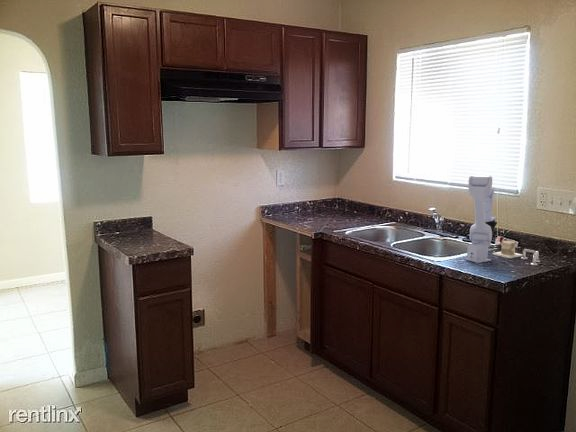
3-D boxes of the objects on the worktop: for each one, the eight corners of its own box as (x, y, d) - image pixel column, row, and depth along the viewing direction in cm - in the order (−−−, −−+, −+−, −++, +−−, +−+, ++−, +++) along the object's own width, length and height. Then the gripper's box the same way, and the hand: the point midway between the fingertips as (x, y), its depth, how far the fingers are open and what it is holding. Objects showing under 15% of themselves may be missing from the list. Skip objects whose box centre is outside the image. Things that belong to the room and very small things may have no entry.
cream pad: (508, 258, 253) (509, 256, 253) (492, 254, 262) (492, 252, 262) (522, 256, 258) (522, 254, 258) (505, 252, 267) (505, 250, 267)
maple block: (508, 255, 257) (509, 243, 256) (501, 253, 261) (501, 241, 260) (514, 254, 259) (515, 242, 258) (507, 252, 263) (507, 241, 262)
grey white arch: (534, 265, 239) (535, 255, 238) (511, 259, 250) (511, 249, 250) (547, 263, 243) (547, 252, 242) (523, 257, 255) (524, 247, 254)
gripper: (483, 212, 252) (481, 239, 255) (501, 209, 260) (500, 235, 262) (471, 210, 258) (470, 236, 261) (490, 208, 266) (488, 233, 268)
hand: (484, 236), depth 262 cm, fingers open, 7 cm apart
